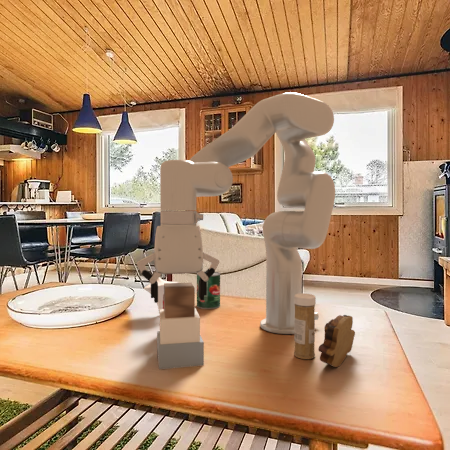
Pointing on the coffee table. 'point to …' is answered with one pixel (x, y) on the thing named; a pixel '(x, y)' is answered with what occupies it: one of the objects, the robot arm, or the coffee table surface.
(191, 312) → the walnut cube
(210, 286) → the canned tomato
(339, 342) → the wooden carving
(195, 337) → the tower top
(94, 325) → the coffee table surface
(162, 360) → the tower base
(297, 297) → the sprinkles bottle
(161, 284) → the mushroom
